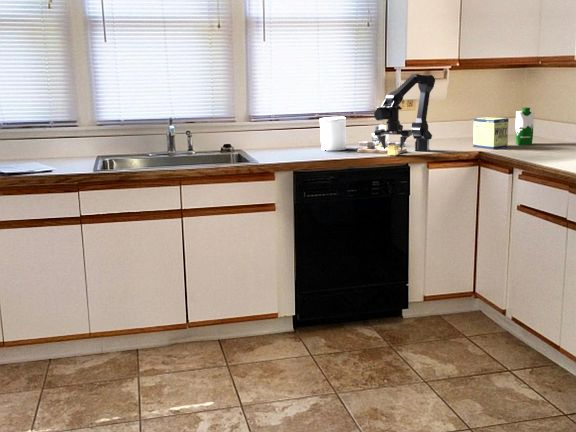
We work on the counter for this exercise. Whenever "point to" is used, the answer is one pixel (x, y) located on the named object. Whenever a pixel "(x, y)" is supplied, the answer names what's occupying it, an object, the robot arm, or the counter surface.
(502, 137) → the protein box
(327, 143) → the utensil holder
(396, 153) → the block
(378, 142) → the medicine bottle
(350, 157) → the counter surface
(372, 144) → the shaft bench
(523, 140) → the milk carton
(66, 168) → the counter surface
